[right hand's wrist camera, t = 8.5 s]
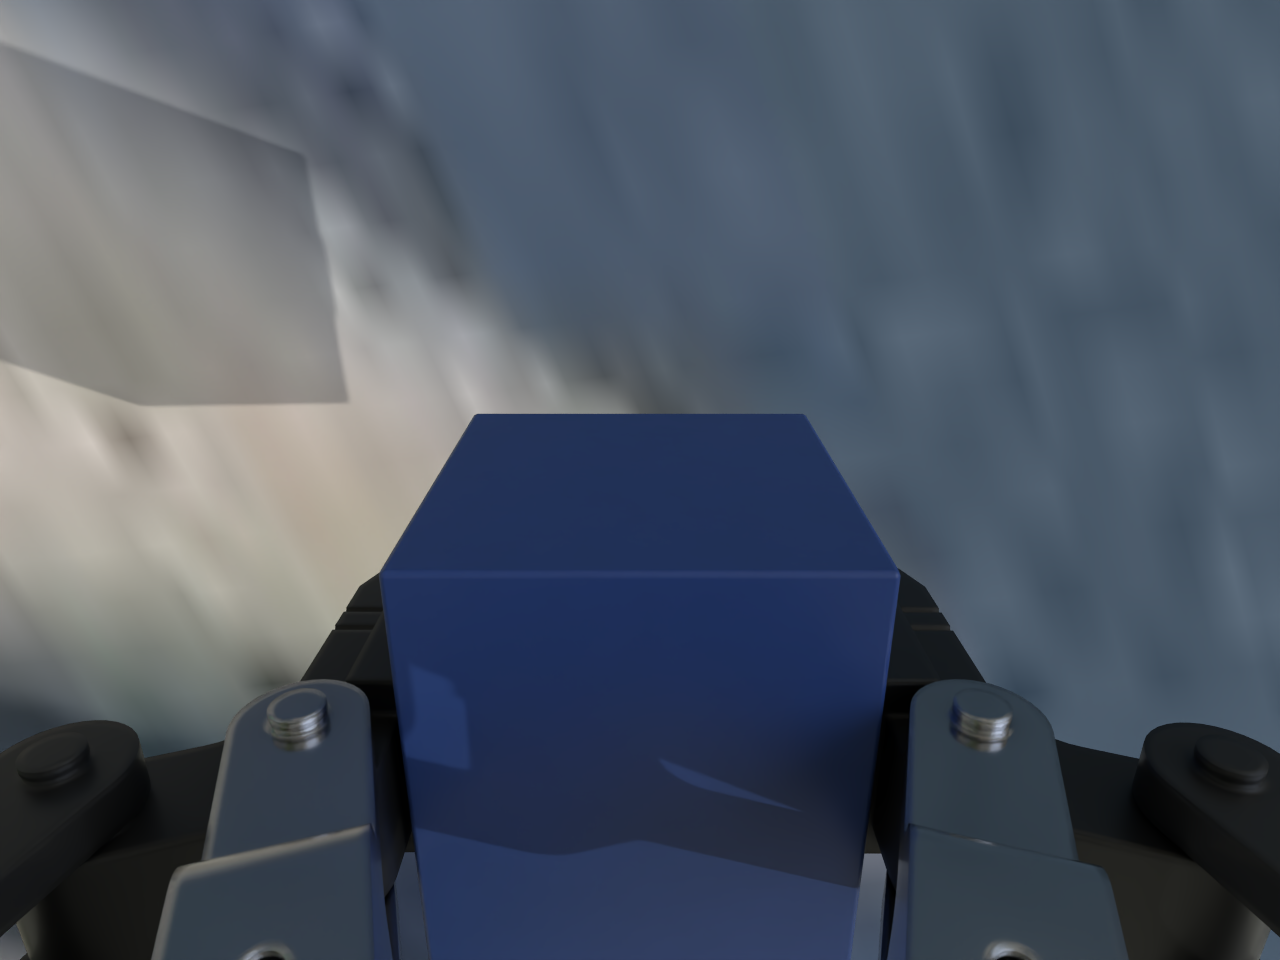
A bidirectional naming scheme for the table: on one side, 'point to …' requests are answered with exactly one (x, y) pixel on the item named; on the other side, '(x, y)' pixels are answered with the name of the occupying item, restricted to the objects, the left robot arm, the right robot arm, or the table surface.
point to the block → (639, 689)
